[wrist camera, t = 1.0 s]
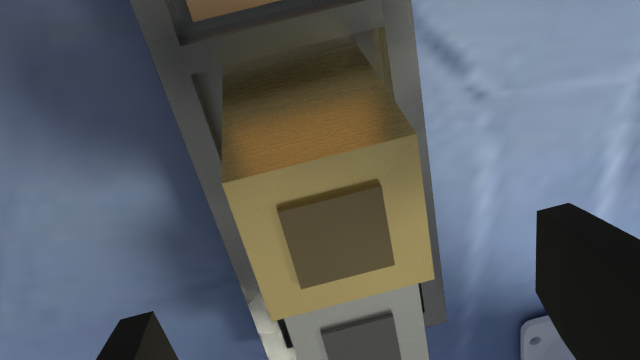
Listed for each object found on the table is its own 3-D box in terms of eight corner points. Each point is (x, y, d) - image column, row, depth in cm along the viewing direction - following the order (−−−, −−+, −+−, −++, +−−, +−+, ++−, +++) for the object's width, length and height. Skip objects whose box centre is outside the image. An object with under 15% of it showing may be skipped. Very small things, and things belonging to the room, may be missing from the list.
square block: (398, 287, 21) (432, 375, 18) (298, 313, 21) (313, 406, 18) (384, 206, 19) (420, 287, 16) (273, 234, 19) (284, 322, 16)
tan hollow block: (375, 158, 18) (436, 283, 13) (258, 187, 18) (272, 326, 13) (355, 42, 16) (419, 137, 11) (222, 76, 16) (221, 188, 11)
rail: (435, 296, 22) (446, 321, 21) (269, 339, 22) (271, 367, 21) (362, -293, 12) (376, -307, 11) (59, -219, 12) (41, -227, 11)
